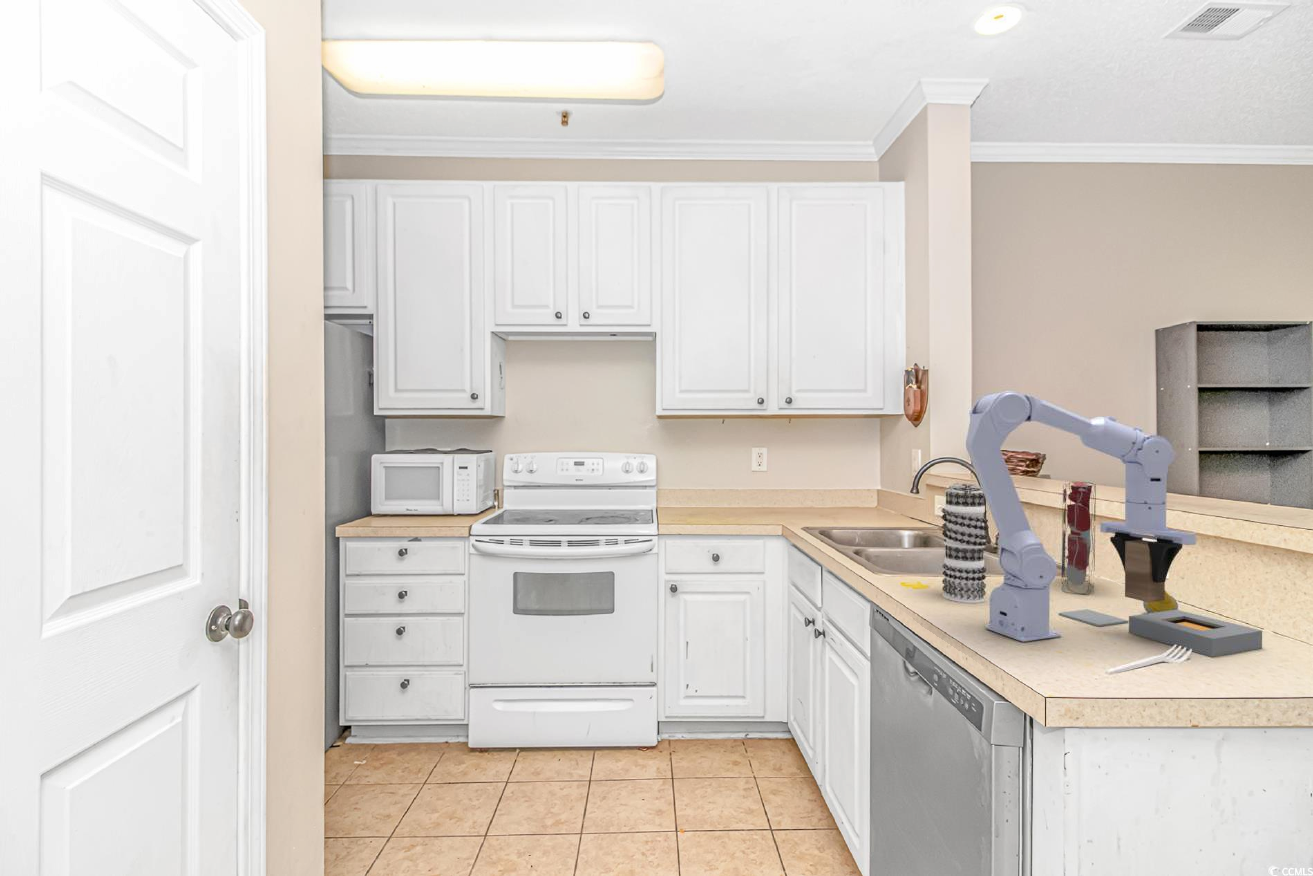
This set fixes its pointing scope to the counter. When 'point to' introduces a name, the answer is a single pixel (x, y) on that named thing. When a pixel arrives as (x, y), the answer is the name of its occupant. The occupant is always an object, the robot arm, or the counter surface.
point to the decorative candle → (964, 543)
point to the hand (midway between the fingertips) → (1145, 579)
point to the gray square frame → (1196, 633)
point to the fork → (1153, 660)
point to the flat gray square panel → (1093, 618)
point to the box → (1078, 533)
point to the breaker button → (1193, 626)
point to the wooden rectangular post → (1141, 573)
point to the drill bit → (1161, 605)
